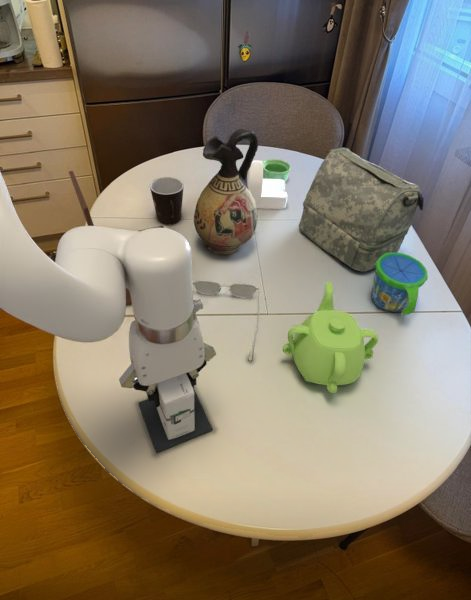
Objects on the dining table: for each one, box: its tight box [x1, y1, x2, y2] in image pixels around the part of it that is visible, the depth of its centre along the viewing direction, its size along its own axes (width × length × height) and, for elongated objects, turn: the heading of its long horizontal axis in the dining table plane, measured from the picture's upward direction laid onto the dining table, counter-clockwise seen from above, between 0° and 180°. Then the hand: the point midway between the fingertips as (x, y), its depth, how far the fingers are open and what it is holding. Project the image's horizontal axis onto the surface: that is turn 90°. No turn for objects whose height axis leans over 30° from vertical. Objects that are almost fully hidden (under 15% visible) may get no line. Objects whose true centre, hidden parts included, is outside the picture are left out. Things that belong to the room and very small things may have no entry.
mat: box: [138, 389, 214, 454], centre depth 72 cm, size 10×10×1 cm
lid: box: [68, 170, 95, 226], centre depth 81 cm, size 16×14×1 cm
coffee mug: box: [149, 176, 185, 226], centre depth 110 cm, size 12×9×10 cm
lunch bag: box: [298, 147, 425, 272], centre depth 103 cm, size 26×18×22 cm
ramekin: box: [263, 158, 291, 183], centre depth 131 cm, size 9×9×4 cm
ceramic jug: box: [193, 128, 259, 255], centre depth 97 cm, size 17×15×30 cm
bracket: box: [247, 159, 288, 210], centre depth 119 cm, size 19×10×11 cm, turn 91°
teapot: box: [282, 280, 379, 394], centre depth 78 cm, size 16×14×13 cm
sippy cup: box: [371, 252, 429, 316], centre depth 92 cm, size 16×10×10 cm
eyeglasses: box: [192, 279, 261, 362], centre depth 87 cm, size 15×18×4 cm
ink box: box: [156, 373, 195, 440], centre depth 68 cm, size 9×5×12 cm, turn 25°
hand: (172, 392), depth 67 cm, fingers closed on ink box, 5 cm apart
